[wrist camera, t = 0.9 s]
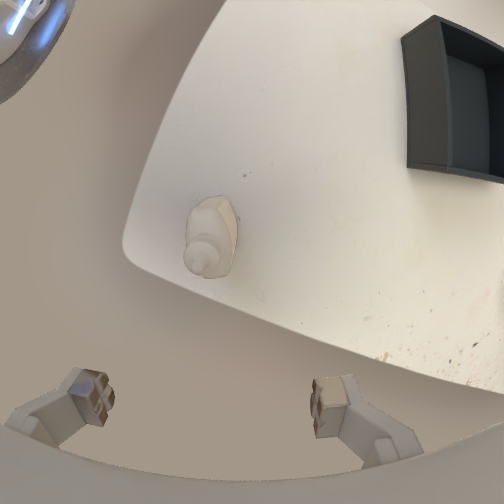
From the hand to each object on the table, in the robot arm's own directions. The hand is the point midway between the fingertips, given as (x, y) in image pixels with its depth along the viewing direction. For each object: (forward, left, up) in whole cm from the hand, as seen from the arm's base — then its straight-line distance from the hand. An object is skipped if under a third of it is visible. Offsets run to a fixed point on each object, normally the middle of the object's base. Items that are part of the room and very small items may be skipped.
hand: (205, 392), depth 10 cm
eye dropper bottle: (-2, -2, -21) cm, 21 cm away
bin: (-16, +24, -21) cm, 36 cm away
